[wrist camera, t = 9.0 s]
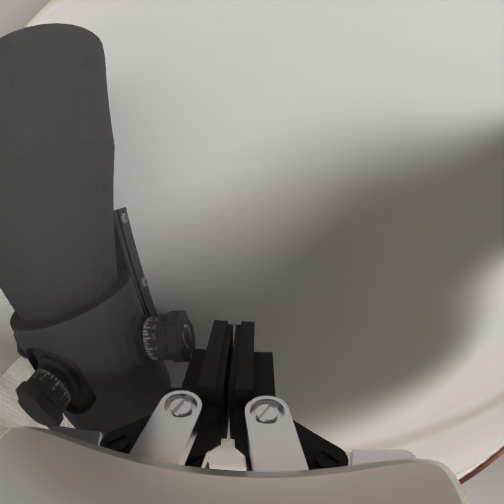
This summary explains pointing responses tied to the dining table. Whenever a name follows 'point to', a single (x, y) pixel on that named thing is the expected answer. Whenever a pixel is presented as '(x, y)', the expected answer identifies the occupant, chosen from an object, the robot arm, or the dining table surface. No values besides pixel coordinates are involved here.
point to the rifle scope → (74, 242)
